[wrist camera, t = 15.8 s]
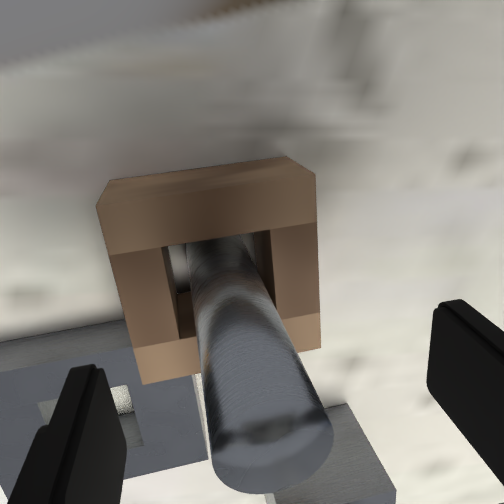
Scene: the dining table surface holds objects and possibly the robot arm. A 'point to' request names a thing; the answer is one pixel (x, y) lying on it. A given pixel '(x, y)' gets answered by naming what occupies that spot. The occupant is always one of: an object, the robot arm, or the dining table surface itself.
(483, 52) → the dining table surface
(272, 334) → the grey round-topped peg
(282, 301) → the block
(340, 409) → the housing
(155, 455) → the socket plate
